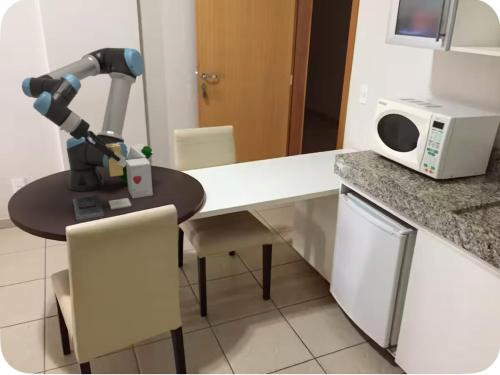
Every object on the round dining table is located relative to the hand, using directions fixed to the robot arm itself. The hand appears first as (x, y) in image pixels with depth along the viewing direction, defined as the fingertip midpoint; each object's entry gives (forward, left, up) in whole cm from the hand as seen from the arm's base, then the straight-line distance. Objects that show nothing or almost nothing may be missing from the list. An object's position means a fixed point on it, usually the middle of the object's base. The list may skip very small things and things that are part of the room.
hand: (124, 162), depth 171 cm
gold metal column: (-2, -3, -4) cm, 6 cm away
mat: (-2, -3, -18) cm, 18 cm away
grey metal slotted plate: (-8, -14, -18) cm, 24 cm away
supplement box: (-4, +10, -18) cm, 21 cm away
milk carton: (-19, +16, -16) cm, 30 cm away
